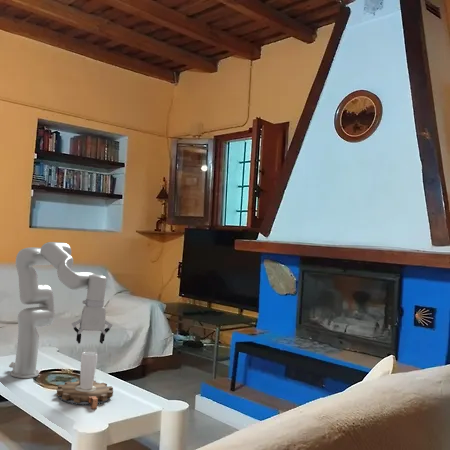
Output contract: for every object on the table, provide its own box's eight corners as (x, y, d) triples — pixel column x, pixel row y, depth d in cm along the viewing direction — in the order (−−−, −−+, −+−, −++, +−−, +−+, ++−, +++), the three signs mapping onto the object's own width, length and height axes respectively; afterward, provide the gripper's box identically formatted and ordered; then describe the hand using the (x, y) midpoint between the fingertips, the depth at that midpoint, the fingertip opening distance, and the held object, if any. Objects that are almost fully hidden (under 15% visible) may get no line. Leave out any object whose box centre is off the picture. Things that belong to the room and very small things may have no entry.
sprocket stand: (47, 397, 219) (48, 388, 219) (79, 384, 240) (80, 376, 240) (94, 410, 211) (95, 400, 211) (123, 395, 231) (124, 386, 231)
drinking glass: (89, 391, 222) (93, 356, 222) (75, 388, 223) (78, 353, 223) (96, 387, 228) (100, 353, 228) (82, 384, 230) (86, 350, 230)
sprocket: (52, 385, 230) (53, 370, 230) (104, 383, 242) (106, 368, 242) (62, 404, 210) (64, 387, 210) (119, 400, 221) (121, 384, 221)
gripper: (76, 304, 219) (71, 345, 219) (116, 306, 226) (111, 345, 226) (72, 301, 225) (68, 340, 225) (112, 302, 233) (107, 340, 233)
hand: (90, 342), depth 226 cm, fingers open, 9 cm apart
